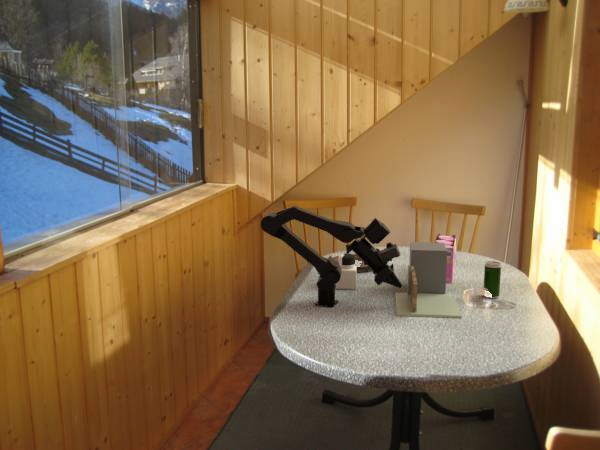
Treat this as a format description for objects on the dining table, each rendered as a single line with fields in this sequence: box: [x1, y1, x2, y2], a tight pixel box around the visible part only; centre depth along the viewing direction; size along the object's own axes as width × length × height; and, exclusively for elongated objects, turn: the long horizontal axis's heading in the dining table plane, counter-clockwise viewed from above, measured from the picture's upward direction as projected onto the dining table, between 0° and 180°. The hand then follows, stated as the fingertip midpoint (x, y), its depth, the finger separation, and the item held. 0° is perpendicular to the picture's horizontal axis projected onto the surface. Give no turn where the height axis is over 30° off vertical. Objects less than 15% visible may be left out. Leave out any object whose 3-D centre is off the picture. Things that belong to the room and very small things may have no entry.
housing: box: [395, 241, 463, 319], centre depth 214 cm, size 34×20×16 cm, turn 172°
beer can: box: [482, 260, 502, 300], centre depth 218 cm, size 5×5×12 cm
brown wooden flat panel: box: [410, 269, 417, 311], centre depth 209 cm, size 18×1×9 cm, turn 172°
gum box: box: [434, 233, 457, 284], centre depth 246 cm, size 24×8×14 cm, turn 164°
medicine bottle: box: [335, 253, 358, 290], centre depth 230 cm, size 7×7×12 cm
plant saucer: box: [332, 253, 372, 273], centre depth 257 cm, size 21×21×3 cm
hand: (401, 287), depth 208 cm, fingers closed
